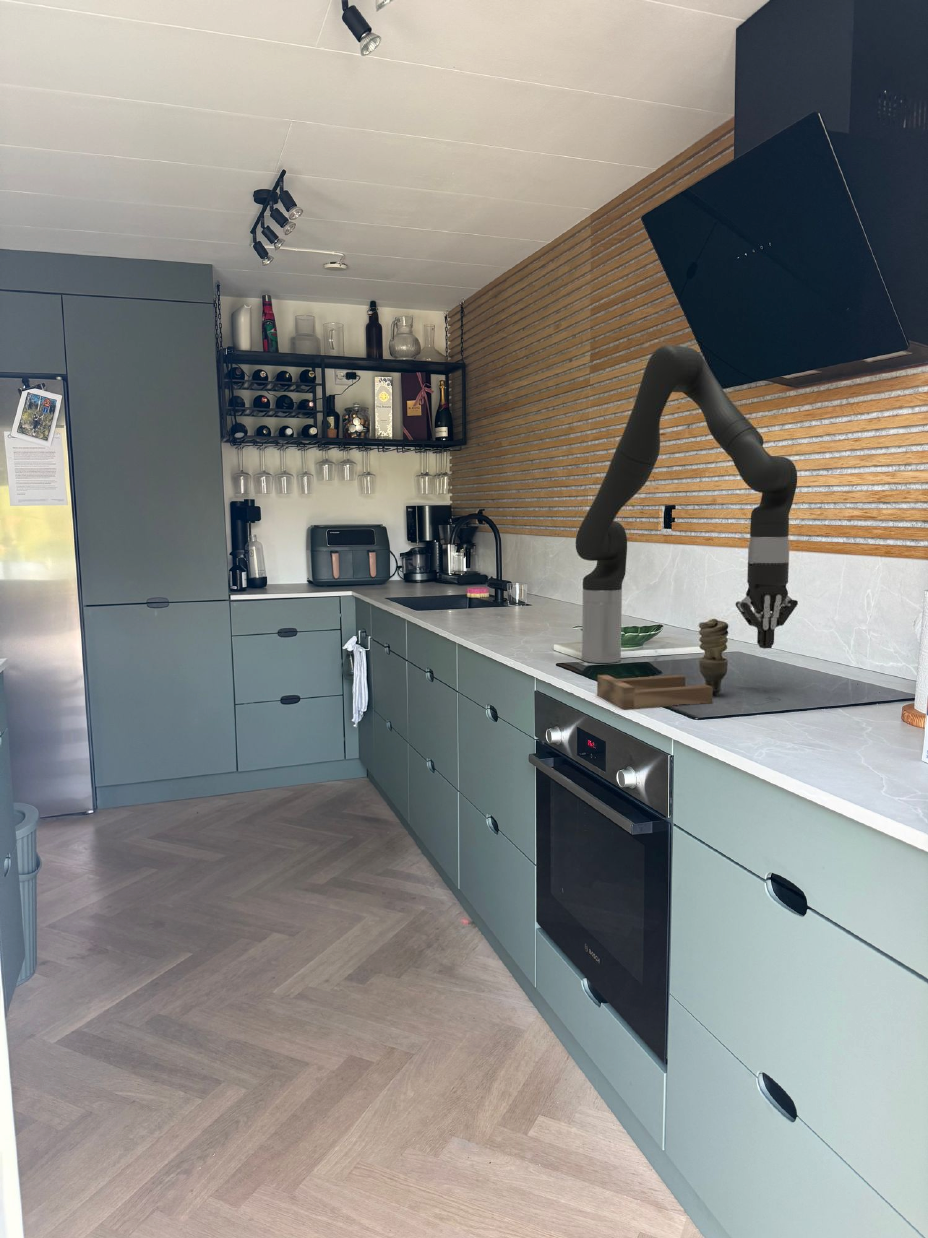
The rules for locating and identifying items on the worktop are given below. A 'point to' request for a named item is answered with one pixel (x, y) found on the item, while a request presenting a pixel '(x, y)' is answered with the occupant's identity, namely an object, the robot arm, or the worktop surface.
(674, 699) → the tray
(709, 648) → the light bulb
